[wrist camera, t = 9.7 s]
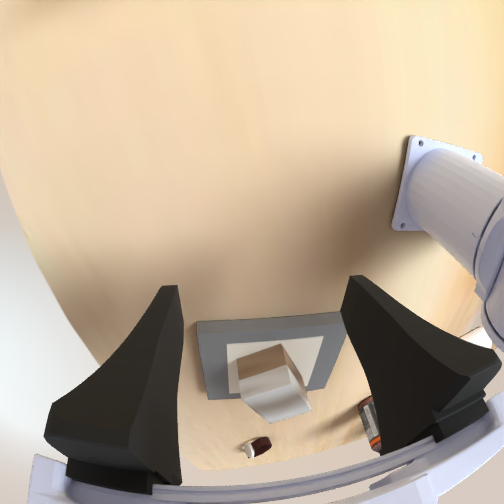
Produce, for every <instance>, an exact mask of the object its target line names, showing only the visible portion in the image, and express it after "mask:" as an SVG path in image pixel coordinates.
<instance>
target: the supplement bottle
mask: <svg viewBox="0 0 504 504" xmlns="http://www.w3.org/2000/svg"><path fill="white" fill-rule="evenodd" d="M358 410H359V414H360V417H361V420H362V422H363V425H364V428H365V431H366V434H367V437H368V440H369V443H370V446H371V448H372V450H373V451H376V452H378V453H380V456H382V450H381V440H380V432H379V426H378V420H377V415H376V410H375V406H374V402H373V398H372V396H370V397H369V398H367V399H365V400H364V401H363V402H362V403H361V404H360V405H359V406H358Z"/></svg>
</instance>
